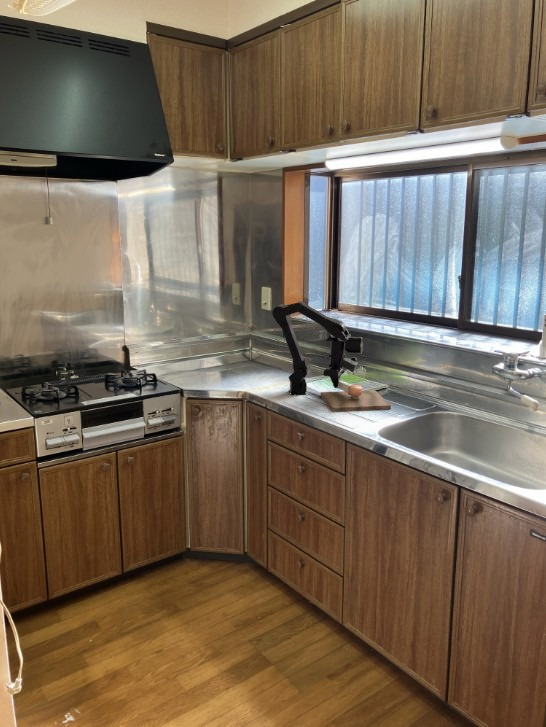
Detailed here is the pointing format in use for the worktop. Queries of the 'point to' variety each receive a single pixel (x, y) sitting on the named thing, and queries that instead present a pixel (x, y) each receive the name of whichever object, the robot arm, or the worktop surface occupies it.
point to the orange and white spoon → (350, 388)
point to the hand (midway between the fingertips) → (335, 388)
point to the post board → (355, 401)
